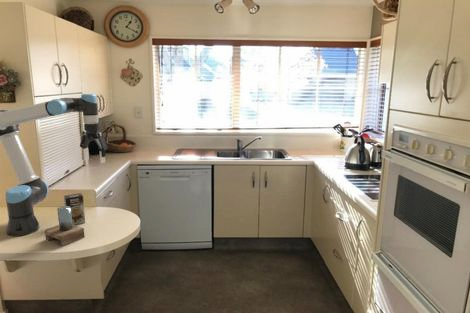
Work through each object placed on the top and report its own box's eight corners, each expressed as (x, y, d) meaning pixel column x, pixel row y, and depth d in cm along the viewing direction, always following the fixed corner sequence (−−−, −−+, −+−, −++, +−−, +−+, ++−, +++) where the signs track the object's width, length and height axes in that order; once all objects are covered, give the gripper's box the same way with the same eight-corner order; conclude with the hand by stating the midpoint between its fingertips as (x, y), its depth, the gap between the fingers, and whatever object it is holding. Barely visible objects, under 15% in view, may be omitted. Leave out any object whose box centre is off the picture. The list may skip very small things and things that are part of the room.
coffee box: (68, 226, 196) (65, 198, 193) (66, 222, 201) (63, 195, 198) (85, 222, 201) (83, 195, 198) (83, 219, 206) (80, 192, 203)
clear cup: (57, 229, 180) (54, 208, 177) (68, 225, 184) (66, 205, 182) (64, 232, 176) (62, 211, 174) (75, 227, 181) (73, 207, 179)
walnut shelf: (45, 240, 179) (44, 230, 178) (67, 231, 189) (66, 222, 188) (63, 246, 172) (61, 236, 171) (84, 237, 182) (83, 228, 181)
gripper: (112, 123, 189) (115, 162, 194) (82, 121, 202) (86, 157, 206) (101, 125, 183) (104, 165, 187) (70, 122, 196) (74, 160, 200)
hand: (94, 161), depth 197 cm, fingers open, 13 cm apart
